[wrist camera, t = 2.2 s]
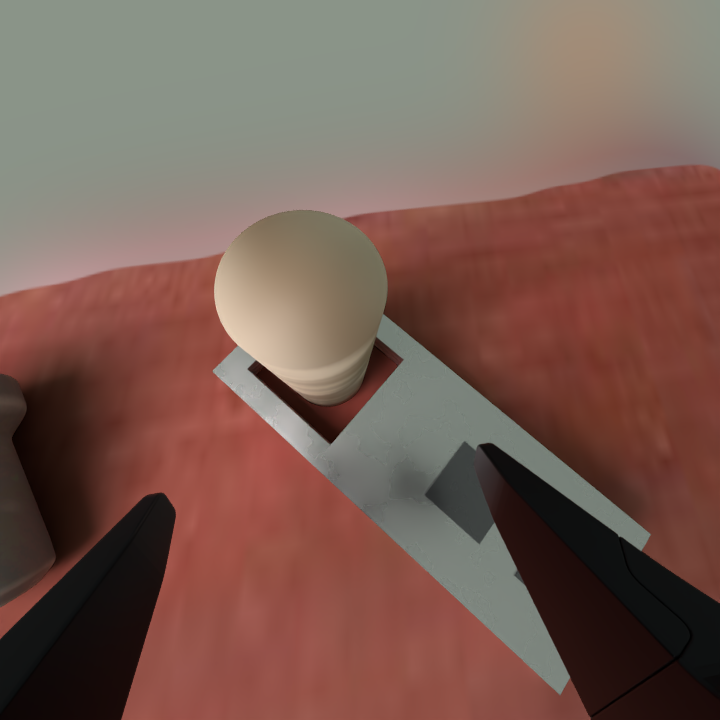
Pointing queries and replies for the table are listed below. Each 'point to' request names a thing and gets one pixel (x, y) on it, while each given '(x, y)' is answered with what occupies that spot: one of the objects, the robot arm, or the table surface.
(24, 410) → the pipe fitting
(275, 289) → the pin
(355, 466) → the grey slotted plate
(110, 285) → the table surface
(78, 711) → the robot arm
